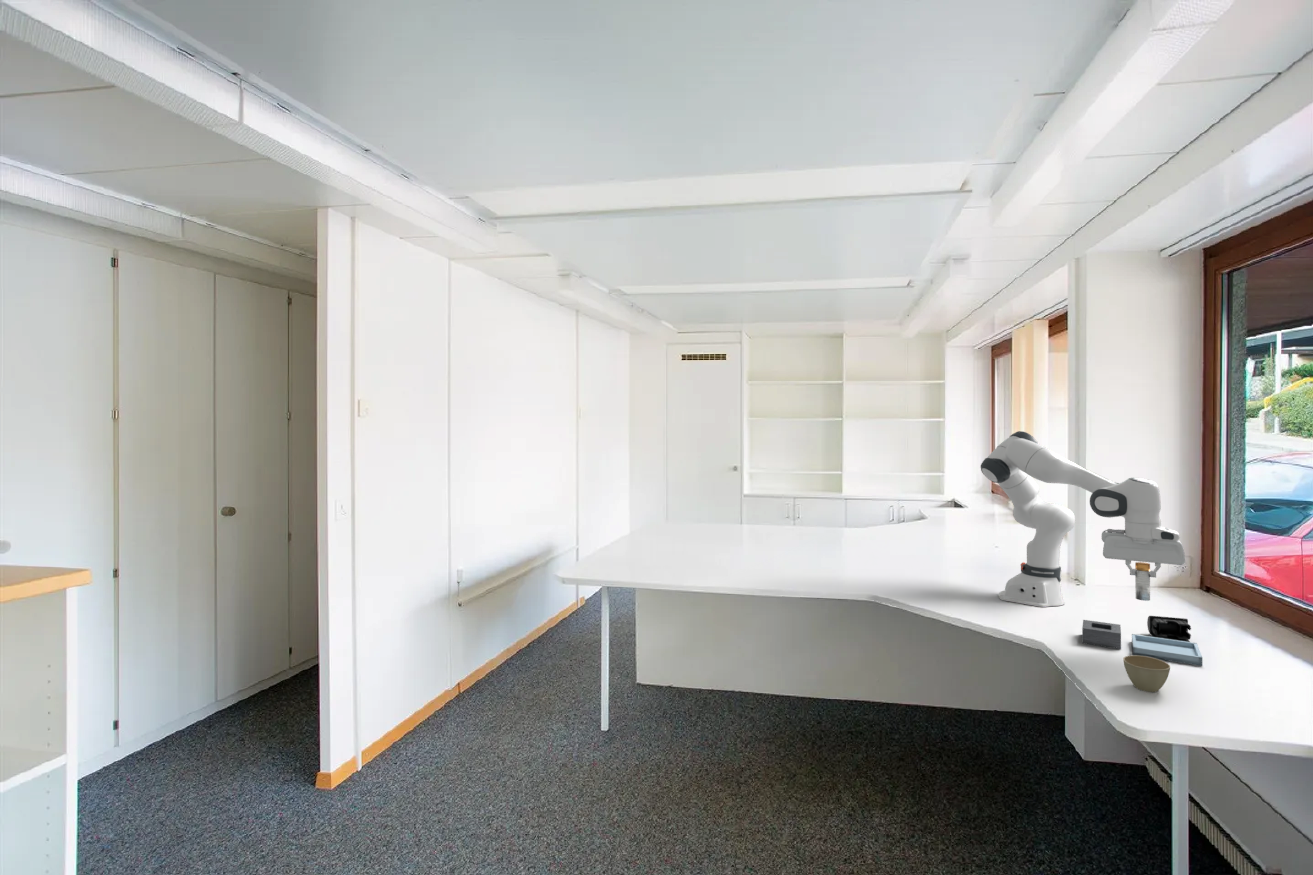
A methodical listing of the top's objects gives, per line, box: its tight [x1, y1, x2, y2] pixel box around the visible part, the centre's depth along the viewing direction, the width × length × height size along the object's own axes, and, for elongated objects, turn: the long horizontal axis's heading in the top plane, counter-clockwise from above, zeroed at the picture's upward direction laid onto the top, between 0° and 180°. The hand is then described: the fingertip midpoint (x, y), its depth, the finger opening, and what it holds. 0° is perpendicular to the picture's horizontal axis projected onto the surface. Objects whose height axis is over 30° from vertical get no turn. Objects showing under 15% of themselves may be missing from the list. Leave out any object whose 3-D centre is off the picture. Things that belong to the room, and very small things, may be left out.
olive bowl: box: [1122, 654, 1171, 693], centre depth 171 cm, size 10×10×7 cm
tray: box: [1131, 633, 1203, 667], centre depth 196 cm, size 16×14×2 cm
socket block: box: [1081, 619, 1122, 650], centre depth 206 cm, size 10×10×5 cm
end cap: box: [1146, 615, 1192, 642], centre depth 208 cm, size 10×7×7 cm
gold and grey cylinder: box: [1134, 561, 1151, 602], centre depth 197 cm, size 4×4×11 cm
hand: (1142, 575), depth 197 cm, fingers closed on gold and grey cylinder, 4 cm apart
